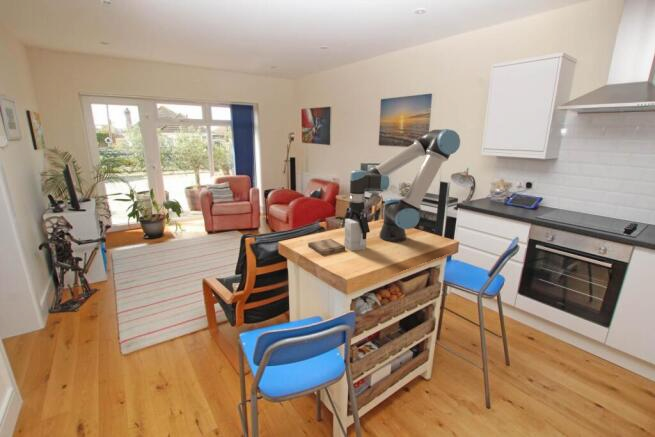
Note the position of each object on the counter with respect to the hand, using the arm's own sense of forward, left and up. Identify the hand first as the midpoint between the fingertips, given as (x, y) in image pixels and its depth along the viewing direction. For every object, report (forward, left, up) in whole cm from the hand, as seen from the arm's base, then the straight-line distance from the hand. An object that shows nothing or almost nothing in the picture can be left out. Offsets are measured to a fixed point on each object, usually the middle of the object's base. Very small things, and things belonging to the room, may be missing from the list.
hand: (355, 240), depth 162 cm
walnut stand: (+14, -6, -4) cm, 16 cm away
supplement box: (0, 0, -4) cm, 4 cm away
